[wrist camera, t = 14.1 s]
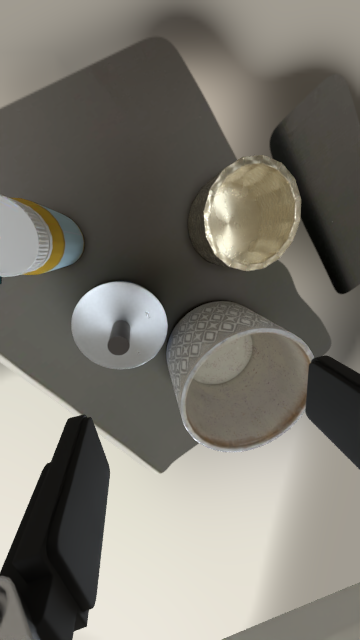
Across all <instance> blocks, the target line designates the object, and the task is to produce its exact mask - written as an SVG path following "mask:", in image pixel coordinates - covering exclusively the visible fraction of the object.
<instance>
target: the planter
mask: <svg viewBox="0 0 360 640" xmlns="http://www.w3.org/2000/svg"><path fill="white" fill-rule="evenodd" d="M166 359H167V365H168V369H169V372H170V376H171V380H172V383H173V387H174V391H175V394H176V398H177V402H178V406H179V409H180V413H181V417H182V420H183V423H184V425H185V427H186V429H187V431H188V432H189V433H190V435H191V436H192V437H193V438H194V439H195V440H196V441H198V442H199V443H200V444H202V445H204V446H206V447H208V448H211V449H213V450H217V451H223V452H240V451H247V450H251V449H255V448H258V447H260V446H263V445H265V444H267V443H269V442H271V441H273V440H275V439H276V438H278V437H279V436H281V435H282V434H283V433H285V432H286V431H288V430H289V429H290V428H291V427H292V426H293V425H294V424H295V423H296V422H297V421H298V420H299V418H300V417H301V416H302V414H303V413H304V412H305V408H306V395H307V382H308V369H309V364H310V363H311V360H312V359H314V357H313V354H312V352H311V351H310V349H309V347H308V346H307V345H306V344H305V343H304V342H303V341H302V340H301V339H300V338H299V337H297V336H296V335H294V334H293V333H291V332H289V331H287V330H285V329H284V328H282V327H280V326H278V325H277V324H275V323H273V322H271V321H269V320H268V319H266V318H264V317H262V316H260V315H259V314H257V313H255V312H253V311H252V310H250V309H248V308H246V307H244V306H242V305H240V304H237V303H234V302H229V301H217V302H211V303H207V304H204V305H201V306H199V307H197V308H195V309H194V310H192V311H190V312H189V313H188V314H186V315H185V316H184V317H183V318H182V319H181V320H180V321H179V322H178V324H177V325H176V326H175V328H174V329H173V331H172V333H171V335H170V338H169V340H168V344H167V350H166Z"/></svg>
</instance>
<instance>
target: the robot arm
mask: <svg viewBox="0 0 360 640" xmlns="http://www.w3.org/2000/svg"><path fill="white" fill-rule="evenodd" d="M305 412H306V415H307V416H308V418H309V419H310V420H311V421H312V422H313V423H314V424H315V425H316V426H317V427H318V428H319V429H320V430H321V431H322V432H323V433H324V434H325V435H326V436H327V437H328V438H329V439H330V440H331V441H332V442H333V443H334V444H335V445H336V446H337V447H338V448H339V449H340V450H341V451H342V452H343V453H344V454H345V455H346V456H347V457H348V458H349V459H350V460H351V461H352V462H353V463H354V464H355V465H356V466H357V467H358V468H359V469H360V374H359V373H357V372H355V371H354V370H352V369H350V368H348V367H347V366H345V365H343V364H341V363H340V362H338V361H336V360H335V359H333V358H331V357H329V356H321V357H317V358H314V359H312V360H311V363H310V364H309V369H308V382H307V395H306V408H305ZM109 478H110V469H109V464H108V462H107V459H106V456H105V453H104V451H103V448H102V445H101V442H100V440H99V437H98V434H97V431H96V428H95V426H94V423H93V420H92V418H91V417H89V418H87V417H86V415H80V416H76V417H72V418H69V419H68V420H67V422H66V425H65V427H64V430H63V432H62V435H61V438H60V440H59V443H58V445H57V448H56V450H55V453H54V456H53V458H52V461H51V462H50V463H47V464H46V466H45V467H44V469H43V471H42V473H41V475H40V478H39V480H38V482H37V485H36V487H35V490H34V492H33V495H32V497H31V499H30V502H29V504H28V507H27V509H26V511H25V514H24V516H23V519H22V521H21V524H20V526H19V528H18V531H17V533H16V536H15V538H14V541H13V543H12V545H11V548H10V550H9V553H8V555H7V558H6V560H5V562H4V565H3V567H2V570H1V572H0V640H72V638H73V632H74V631H76V630H79V629H81V628H84V627H86V626H87V620H88V612H89V609H92V608H93V607H94V605H95V601H96V595H97V585H98V577H99V568H100V559H101V550H102V541H103V532H104V523H105V514H106V505H107V495H108V487H109ZM222 640H360V583H357V584H355V585H352V586H350V587H348V588H345V589H343V590H340V591H338V592H335V593H333V594H331V595H328V596H326V597H324V598H321V599H318V600H316V601H314V602H311V603H309V604H306V605H304V606H302V607H299V608H297V609H294V610H292V611H289V612H287V613H285V614H282V615H280V616H277V617H275V618H272V619H270V620H268V621H265V622H263V623H260V624H258V625H256V626H253V627H251V628H249V629H246V630H244V631H241V632H239V633H236V634H234V635H232V636H229V637H227V638H224V639H222Z"/></svg>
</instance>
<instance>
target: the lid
mask: <svg viewBox="0 0 360 640" xmlns="http://www.w3.org/2000/svg"><path fill="white" fill-rule="evenodd" d="M71 329H72V335H73V338H74V340H75V343H76V345H77V346H78V348H79V349H80V351H81V352H82V353H83V354H84V355H85V356H86V357H87V358H89V359H90V360H91V361H93V362H95V363H96V364H99V365H101V366H104V367H107V368H112V369H128V368H133V367H136V366H139V365H142V364H144V363H145V362H147V361H149V360H150V359H151V358H153V357H154V356H155V355H156V354H157V353H158V351H159V350H160V349H161V347H162V346H163V344H164V341H165V339H166V336H167V329H168V323H167V317H166V313H165V311H164V308H163V306H162V304H161V303H160V301H159V300H158V299H157V298H156V297H155V296H154V295H153V294H152V293H151V292H150V291H149V290H147V289H145V288H144V287H142V286H139V285H137V284H134V283H130V282H124V281H114V282H108V283H104V284H101V285H98V286H96V287H94V288H93V289H91V290H90V291H88V292H87V293H86V294H85V295H84V296H83V297H82V298H81V299H80V300H79V302H78V303H77V305H76V307H75V309H74V312H73V315H72V320H71Z"/></svg>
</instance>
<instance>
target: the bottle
mask: <svg viewBox="0 0 360 640" xmlns="http://www.w3.org/2000/svg"><path fill="white" fill-rule="evenodd" d="M83 250H84V238H83V234H82V232H81V230H80V228H79V227H78V226H77V225H76V223H75V222H74V221H73V220H71V219H70V218H68V217H67V216H65V215H63V214H61V213H58V212H56V211H54V210H51V209H49V208H47V207H44V206H42V205H39V204H37V203H35V202H32V201H28V200H25V199H22V198H8V197H6V196H3V195H0V276H2V277H6V276H7V277H10V276H17V275H21V274H24V275H37V274H42V273H46V272H49V271H52V270H56V269H59V268H62V267H66V266H68V265H71V264H73V263H75V262H76V261H77V260H78V259H79V258H80V257H81V255H82V253H83Z"/></svg>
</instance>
